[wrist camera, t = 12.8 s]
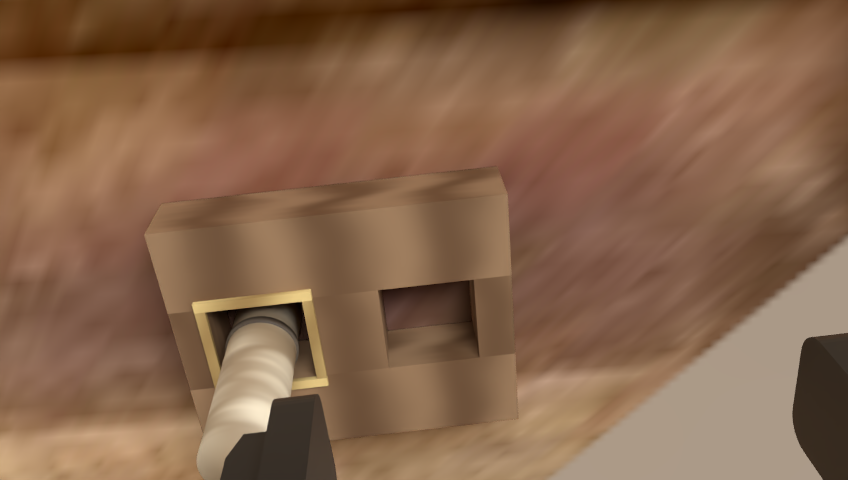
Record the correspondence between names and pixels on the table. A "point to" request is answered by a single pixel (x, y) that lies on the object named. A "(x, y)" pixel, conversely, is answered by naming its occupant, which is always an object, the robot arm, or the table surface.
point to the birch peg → (250, 379)
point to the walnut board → (352, 294)
